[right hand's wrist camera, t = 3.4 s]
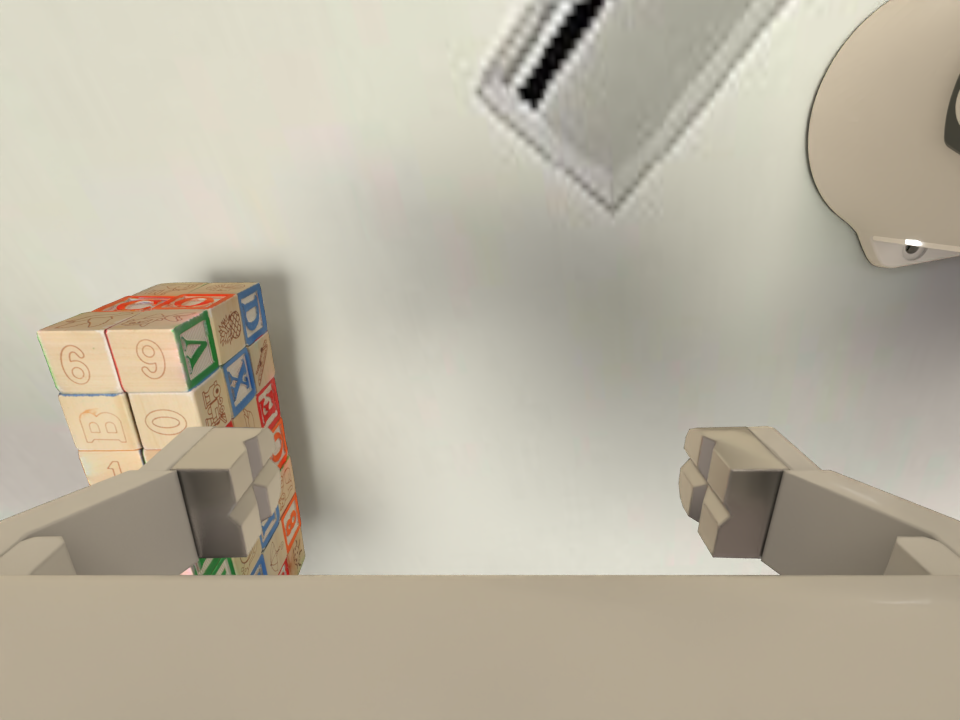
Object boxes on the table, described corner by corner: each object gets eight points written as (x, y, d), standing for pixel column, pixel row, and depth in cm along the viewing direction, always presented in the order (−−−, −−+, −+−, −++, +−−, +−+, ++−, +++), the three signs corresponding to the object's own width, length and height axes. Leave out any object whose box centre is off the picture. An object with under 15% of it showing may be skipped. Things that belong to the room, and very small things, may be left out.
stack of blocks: (158, 280, 31) (-33, 352, 19) (262, 279, 31) (134, 351, 19) (225, 559, 38) (118, 729, 27) (308, 558, 38) (236, 728, 27)
